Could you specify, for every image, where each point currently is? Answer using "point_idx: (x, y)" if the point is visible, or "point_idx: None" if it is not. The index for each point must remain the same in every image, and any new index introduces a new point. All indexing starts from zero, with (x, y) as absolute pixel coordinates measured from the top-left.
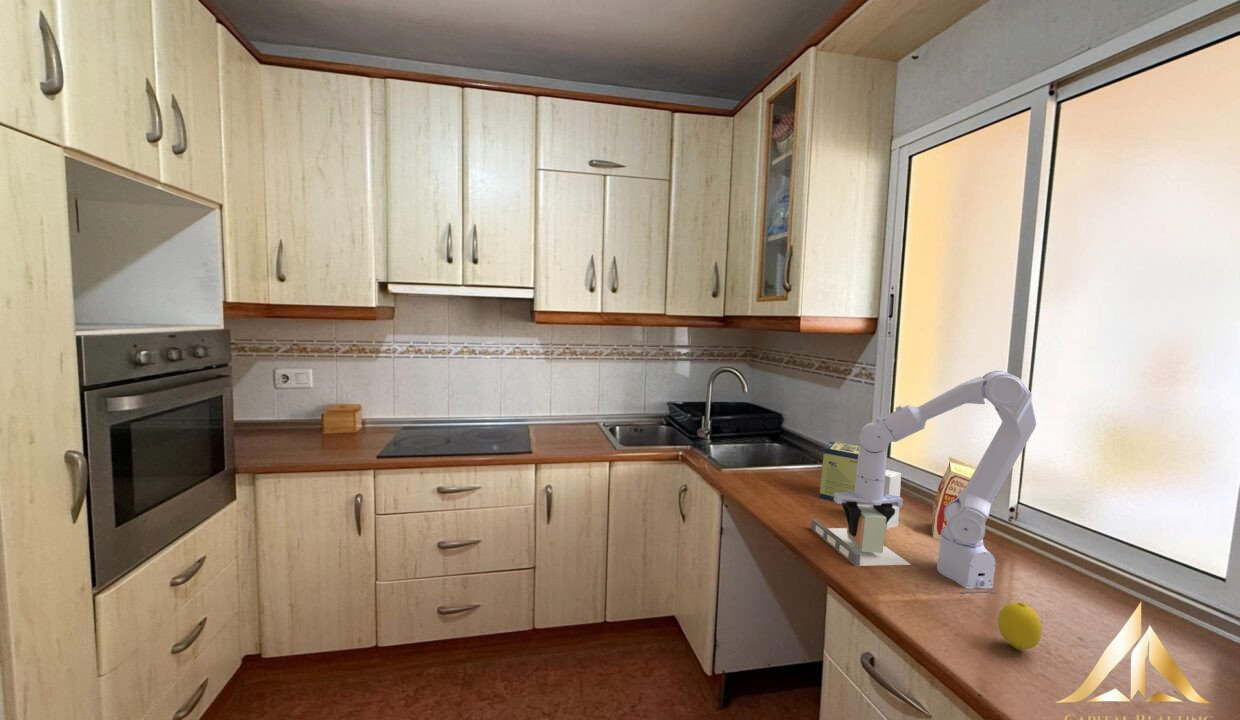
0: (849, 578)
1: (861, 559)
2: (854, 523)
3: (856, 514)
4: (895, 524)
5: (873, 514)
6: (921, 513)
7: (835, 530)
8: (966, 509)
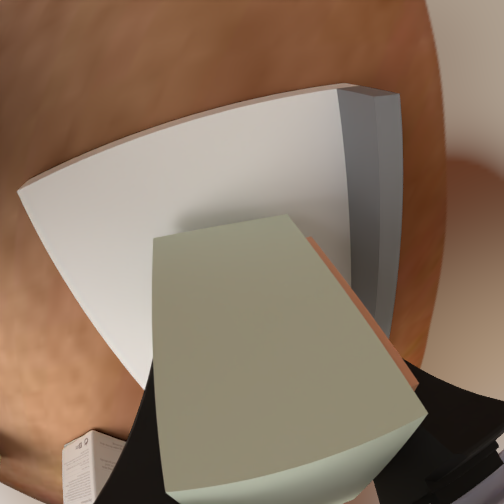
0: (390, 20)
1: (293, 164)
2: None
3: (449, 411)
4: (69, 457)
5: (292, 487)
6: (27, 481)
7: None
8: None
